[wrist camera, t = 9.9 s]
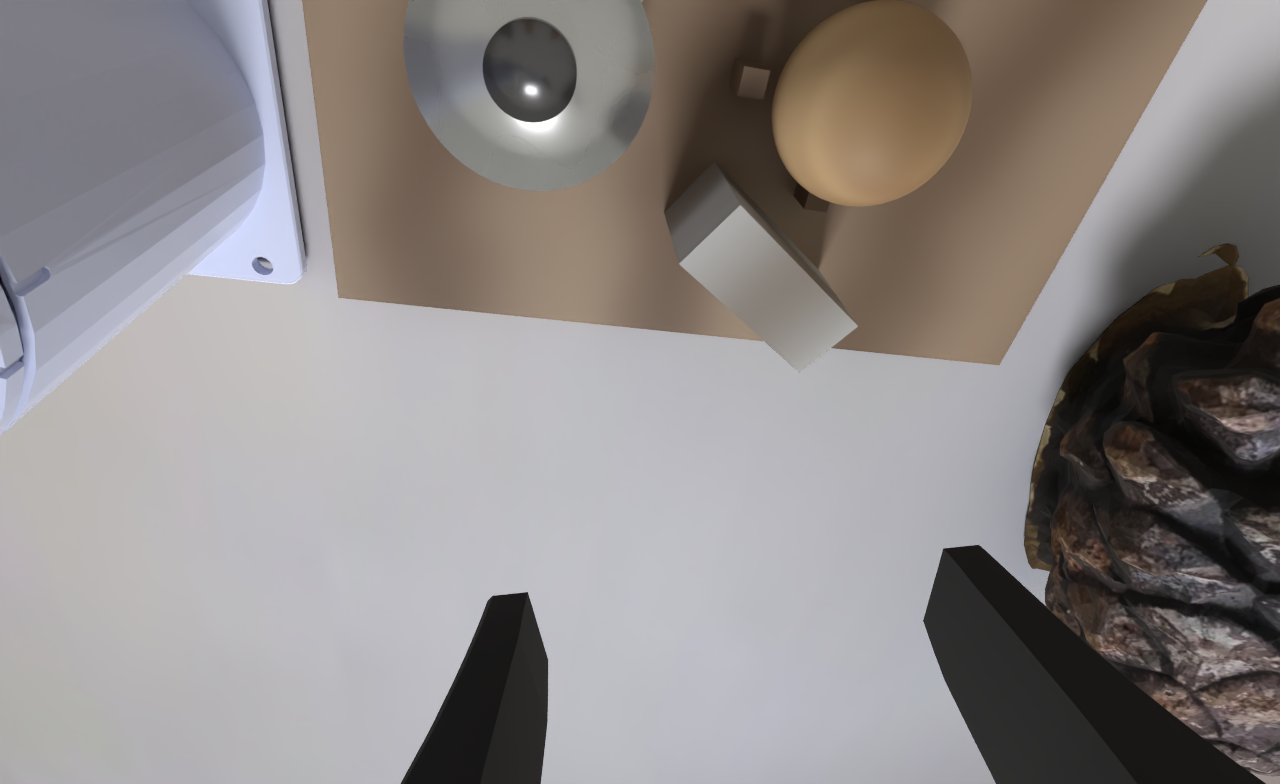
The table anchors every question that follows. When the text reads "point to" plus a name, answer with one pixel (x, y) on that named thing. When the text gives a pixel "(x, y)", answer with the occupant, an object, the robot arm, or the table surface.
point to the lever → (531, 84)
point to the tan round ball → (872, 103)
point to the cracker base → (746, 184)
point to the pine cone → (1174, 506)
